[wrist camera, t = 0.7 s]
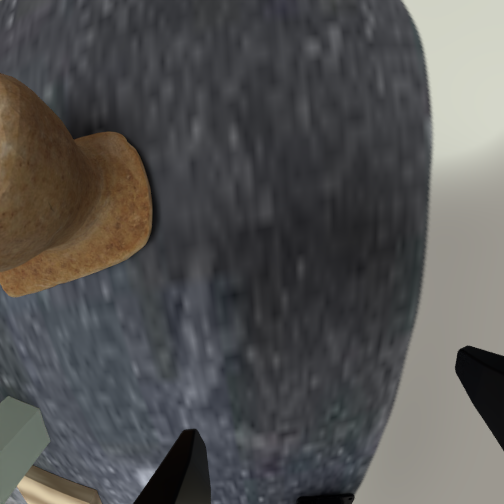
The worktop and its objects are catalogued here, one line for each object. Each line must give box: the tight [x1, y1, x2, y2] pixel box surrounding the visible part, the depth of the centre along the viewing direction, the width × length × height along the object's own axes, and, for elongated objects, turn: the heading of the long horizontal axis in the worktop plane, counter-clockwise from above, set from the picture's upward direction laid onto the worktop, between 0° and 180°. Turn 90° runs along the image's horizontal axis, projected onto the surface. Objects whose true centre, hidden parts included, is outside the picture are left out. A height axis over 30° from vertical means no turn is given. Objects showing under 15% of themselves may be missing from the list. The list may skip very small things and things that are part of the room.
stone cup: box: [0, 73, 153, 297], centre depth 14 cm, size 15×12×15 cm
